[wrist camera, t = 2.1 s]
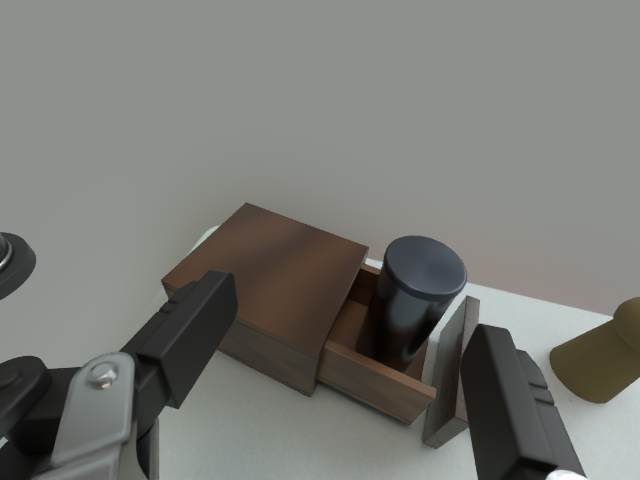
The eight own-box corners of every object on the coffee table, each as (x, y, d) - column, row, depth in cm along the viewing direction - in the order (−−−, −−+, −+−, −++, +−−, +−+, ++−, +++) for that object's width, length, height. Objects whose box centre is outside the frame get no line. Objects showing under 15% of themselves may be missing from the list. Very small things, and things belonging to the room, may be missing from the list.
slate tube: (354, 376, 28) (389, 290, 19) (353, 322, 32) (382, 230, 23) (415, 383, 28) (479, 300, 19) (406, 328, 32) (456, 238, 23)
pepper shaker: (606, 359, 34) (701, 301, 26) (621, 414, 29) (740, 365, 22) (546, 337, 35) (620, 276, 27) (553, 386, 31) (642, 330, 23)
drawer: (492, 353, 32) (528, 317, 27) (489, 476, 24) (539, 457, 19) (336, 289, 36) (344, 249, 31) (291, 376, 28) (293, 341, 24)
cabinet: (355, 297, 37) (369, 247, 31) (310, 398, 28) (318, 355, 22) (251, 254, 40) (246, 202, 34) (182, 332, 31) (160, 280, 26)
